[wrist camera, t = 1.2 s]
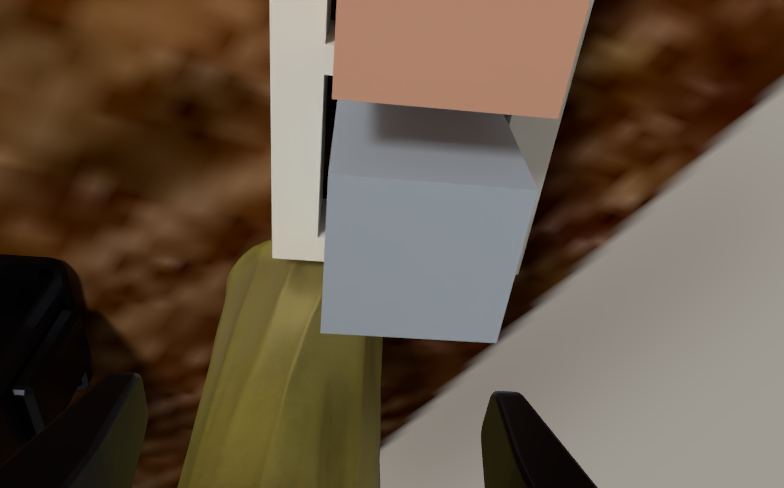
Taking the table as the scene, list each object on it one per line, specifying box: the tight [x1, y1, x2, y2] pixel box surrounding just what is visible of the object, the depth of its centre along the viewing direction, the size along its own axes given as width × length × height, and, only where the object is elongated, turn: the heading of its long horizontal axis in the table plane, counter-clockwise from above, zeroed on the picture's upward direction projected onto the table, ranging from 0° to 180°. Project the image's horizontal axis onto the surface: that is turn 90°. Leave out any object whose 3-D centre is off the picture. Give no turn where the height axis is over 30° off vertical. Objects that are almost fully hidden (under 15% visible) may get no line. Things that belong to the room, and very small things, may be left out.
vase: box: [177, 239, 383, 488], centre depth 17 cm, size 6×6×14 cm
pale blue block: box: [320, 100, 538, 343], centre depth 16 cm, size 4×4×5 cm
